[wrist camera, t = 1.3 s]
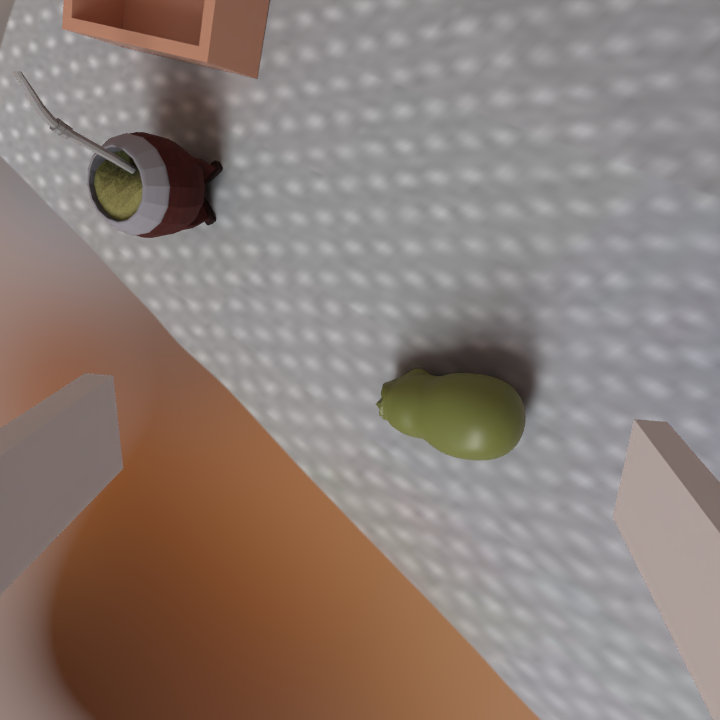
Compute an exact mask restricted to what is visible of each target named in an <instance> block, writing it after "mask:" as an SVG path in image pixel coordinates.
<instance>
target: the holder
mask: <svg viewBox="0 0 720 720" xmlns="http://www.w3.org/2000/svg"><path fill="white" fill-rule="evenodd" d="M269 2H270V0H64V7H63V26H62V29H65V30H68V31H71V32H75V33H78V34H81V35H85V36H88V37H91V38H94V39H98V40H101V41H104V42H108V43H111V44H114V45H117V46H121V47H124V48H129V49H133V50H137V51H141V52H146V53H150V54H154V55H158V56H162V57H167V58H171V59H175V60H179V61H184V62H188V63H192V64H196V65H201V66H205V67H209V68H213V69H218V70H222V71H226V72H230V73H235V74H239V75H243V76H247V77H251V78H256V79H257V77H258V71H259V64H260V58H261V52H262V46H263V39H264V33H265V27H266V21H267V14H268V8H269Z"/></svg>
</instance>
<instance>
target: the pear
mask: <svg viewBox="0 0 720 720" xmlns="http://www.w3.org/2000/svg"><path fill="white" fill-rule="evenodd" d="M381 397H382V398H381V400H380V401H378V402H377V403H376V405H377V406H378V408H379V409H380V411H379V416H383V417H382V418H383V419H384V420H387V421H388V422H389V423H390V425H391V426H392V427H394V428H395V429H397V430H398V431H400V432H402V433H403V434H406V435H408V436H411V437H416V438H421V439H424V440H425V441H427V442H428V443H429V444H430V445H432V446H433V447H434V448H436V449H437V450H439V451H441V452H442V453H444V454H447V455H450V456H453V457H456V458H461V459H467V460H491V459H495V458H499V457H501V456H504V455H506V454H507V453H509V452H510V451H511V450H512V449H513V448H514V447H515V446H516V445H517V443H518V442H519V440H520V438H521V436H522V434H523V431H524V427H525V409H524V405H523V402H522V399H521V397H520V396H519V394H518V393H517V391H516V390H515V389H514V388H513V387H512V386H511V385H509V384H508V383H506V382H504V381H502V380H500V379H498V378H495V377H491V376H487V375H482V374H473V373H452V374H447V375H443V376H433V375H430V374H429V373H428V372H427V371H425V370H423V369H419V368H417V369H413V370H411V371H410V372H407V373H406V374H404V375H402V376H401V377H399V378H397V379H395V380H392V381H389V382H386V383H384V384H383V387H382V391H381ZM378 404H380V405H378ZM381 404H382V405H381Z"/></svg>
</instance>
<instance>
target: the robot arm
mask: <svg viewBox="0 0 720 720" xmlns="http://www.w3.org/2000/svg"><path fill="white" fill-rule="evenodd" d="M122 469H123V465H122V456H121V446H120V437H119V428H118V418H117V408H116V398H115V389H114V380H113V376H112V375H111V376H110V375H100V374H88V373H85V374H83V375H82V376H80V377H79V378H77V379H76V380H74V381H73V382H71V383H69V384H68V385H66V386H65V387H63V388H62V389H60V390H59V391H57V392H55V393H54V394H53V395H51V396H49V397H48V398H46V399H45V400H43V401H42V402H40V403H38V404H37V405H35V406H34V407H32V408H31V409H29V410H28V411H26V412H25V413H23V414H22V415H20V416H18V417H17V418H15V419H14V420H12V421H11V422H9V423H8V424H7V425H5V426H3V427H1V428H0V595H1V594H2V593H3V592H4V591H5V590H6V589H7V588H8V587H9V586H10V585H11V584H12V583H13V582H14V581H15V580H16V579H17V578H18V577H19V576H20V575H21V573H22V572H23V571H24V570H25V569H26V568H27V567H28V566H29V565H30V564H31V563H32V562H33V561H34V560H35V559H36V558H37V557H38V556H39V555H40V554H41V553H42V552H43V551H44V550H45V549H46V548H47V547H48V546H49V545H50V543H51V542H52V541H53V540H54V539H55V538H56V537H57V536H58V535H59V534H60V533H61V532H62V531H63V530H64V529H65V528H66V527H67V526H68V525H69V524H70V523H71V521H73V520H74V519H75V517H76V516H77V515H78V514H79V513H80V512H81V511H82V510H83V509H84V508H85V507H86V506H87V505H88V504H89V503H90V502H91V501H92V500H93V499H94V498H95V497H96V496H97V495H98V494H99V492H101V491H102V490H103V489H104V488H105V486H106V485H107V484H108V483H109V482H110V481H111V480H112V479H113V478H114V477H115V476H116V475H117V474H118V473H119V472H120V471H121V470H122ZM613 518H614V520H615V522H616V524H617V526H618V528H619V530H620V532H621V534H622V536H623V538H624V540H625V542H626V544H627V546H628V549H629V551H630V553H631V555H632V557H633V559H634V561H635V563H636V565H637V567H638V569H639V571H640V573H641V575H642V577H643V579H644V581H645V583H646V585H647V587H648V589H649V591H650V593H651V595H652V597H653V599H654V601H655V603H656V605H657V607H658V609H659V611H660V613H661V615H662V617H663V619H664V621H665V623H666V626H667V628H668V630H669V632H670V634H671V636H672V638H673V640H674V642H675V644H676V646H677V648H678V650H679V652H680V654H681V656H682V658H683V660H684V662H685V664H686V666H687V668H688V670H689V672H690V674H691V676H692V678H693V680H694V682H695V684H696V686H697V688H698V690H699V692H700V694H701V696H702V698H703V700H704V703H705V705H706V707H707V709H708V711H709V713H710V715H711V717H712V719H713V720H720V482H719V481H718V480H717V479H716V478H715V477H714V475H713V474H712V473H711V472H710V471H709V470H708V469H707V467H706V466H705V465H704V464H703V463H702V462H701V460H700V459H699V458H698V457H697V456H696V455H695V454H694V452H693V451H692V450H691V449H690V448H689V447H688V445H687V444H686V443H685V442H684V441H683V440H682V438H681V437H680V436H679V435H678V434H677V433H676V432H675V430H674V429H673V428H672V427H671V426H670V425H669V423H668V422H660V421H648V420H636V419H634V423H633V427H632V432H631V436H630V441H629V445H628V450H627V455H626V459H625V464H624V468H623V473H622V477H621V482H620V487H619V491H618V496H617V500H616V505H615V509H614V514H613Z"/></svg>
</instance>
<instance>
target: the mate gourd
mask: <svg viewBox="0 0 720 720" xmlns="http://www.w3.org/2000/svg"><path fill="white" fill-rule="evenodd" d="M13 73H14V75H15V77H16V79H17V80H18V82H19V84H20V85H21V87H22V89H23V90H24V92H25V94H26V95H27V97H28V99H29V100H30V102H31V104H32V105H33V107H34V109H35V110H36V111H37V112H38V114H39V115H40V116H41V117H42V119H43V120H44V121H45V122H46V123H47V124H48V125H49V126H50V129H51V130H53V131H54V132H55V133H57V134H58V135H60V136H62V137H63V138H65V139H67V138H69V139H71V140H72V141H74V142H76V143H78V144H80V145H82V146H84V147H86V148H87V149H89V150H91V151H93V152H95V154H94V155H93V157H92V160H91V162H90V165H89V168H88V182H87V185H88V189H89V194H90V198H91V201H92V203H93V205H94V206H95V208H96V210H97V212H98V213H99V214H100V215H101V216H102V217H103V218H104V219H105V220H106V221H107V222H108V223H109V224H110V225H112V226H113V227H114V228H115V229H117V230H119V231H121V232H124V233H127V234H130V235H133V236H134V235H137V236H140V237H145V238H153V237H158V236H163V235H168V234H174V233H176V232H179V231H181V230H185V229H190V228H193V227H195V226H197V225H199V224H201V223H203V222H205V223H206V224H207V225H210V224H213V223H214V222H215V221H216V217H215V215H214V213H213V211H212V210H211V208H210V206H209V204H208V202H207V200H206V199H205V197H204V194H205V185H206V184H208V183H209V182H210V181H211V180H212V179H213V178H215V177H216V176H217V175H218V174H219V173H220V172H221V171H222V170H223V169H222V166H221V164H220V162H218V161H214V162H212V163H211V164H209V163H207V162H205V161H203V160H201V159H198V158H195V157H193V156H192V155H190V154H189V153H188V152H187V151H185V150H184V149H183V148H182V147H180V146H179V145H178V144H176V143H175V142H173V141H171V140H169V139H166V138H163V137H159V136H156V135H152V134H148V133H144V132H135V133H130V134H128V133H126V134H122V135H119V136H116V137H112V138H110V139H109V140H108V141H106V142H105V143H104V144H103V145H102V146H100V145H98V144H96V143H94V142H93V141H91V140H89V139H87V138H85V137H84V136H82V135H80V134H78V133H77V132H75V131H73V130H72V128H71V127H70V126H68V125H67V124H65V123H64V122H63V121H61V120H60V119H58V118H57V119H56V118H54V117H53V116H52V114H51V113H50V112H49V111H48V110H47V108H46V107H45V106H44V105H43V103H42V102H41V100H40V99H39V97H38V96H37V94H36V93H35V91H34V90H33V88H32V87H31V85H30V84H29V83H28V81H27V80H26V78H25V77H24V75H23V74H22V72H13Z"/></svg>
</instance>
